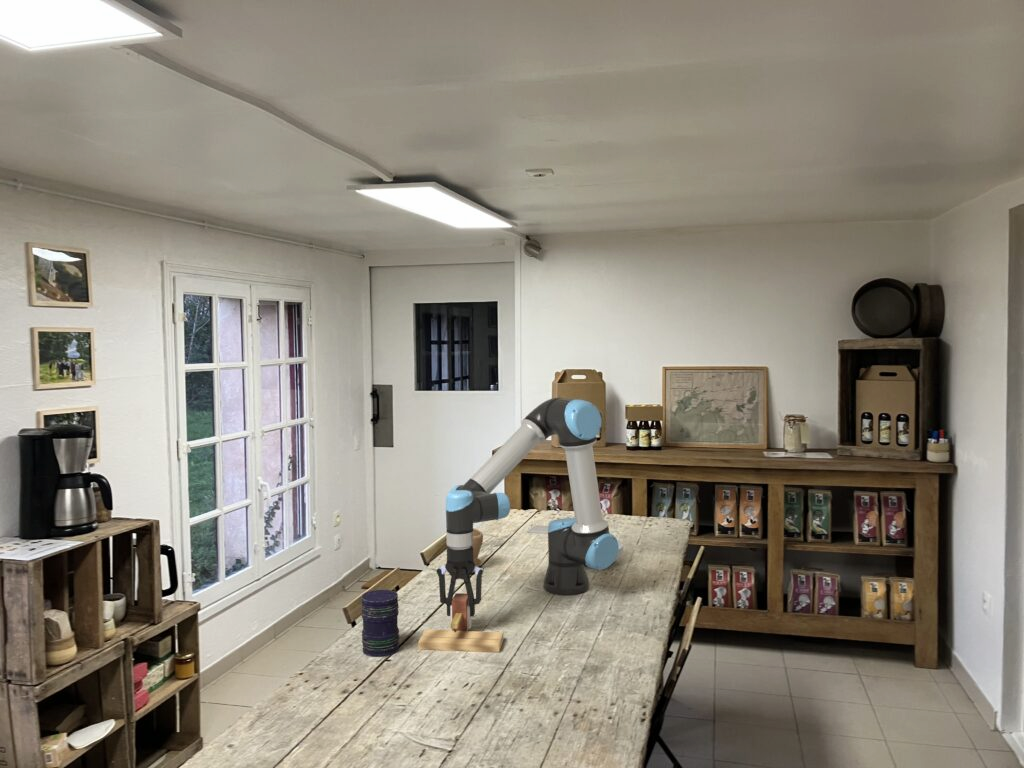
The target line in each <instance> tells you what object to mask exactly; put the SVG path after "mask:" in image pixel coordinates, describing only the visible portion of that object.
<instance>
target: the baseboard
mask: <svg viewBox="0 0 1024 768" xmlns="http://www.w3.org/2000/svg"><path fill="white" fill-rule="evenodd" d="M548 526H549V525H539V524H534V525H533V524H531V525H530V527H529V528H528V531H527V534H535V535H536V534H537V535H538V534H539V535H548Z"/></svg>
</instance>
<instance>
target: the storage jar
mask: <svg viewBox="0 0 1024 768" xmlns="http://www.w3.org/2000/svg"><path fill="white" fill-rule="evenodd" d="M398 598H399V595H398V592H397V591H395V590H390V589H376V590H375V589H374V590H371V591H370V590H369V591H367V592H364V593H363V594H362V595H361V607H360V609H361V614H360V615H361V618H362V632H361V642H362V647H363V648H362V653H363V655H365V656H367V657H372V658H384V657H389V656H393V655H395V654H396V653H398V652H399V650H400V647H399V643H400V629H399V627H398V624H399V623H398V616H399V599H398Z"/></svg>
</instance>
